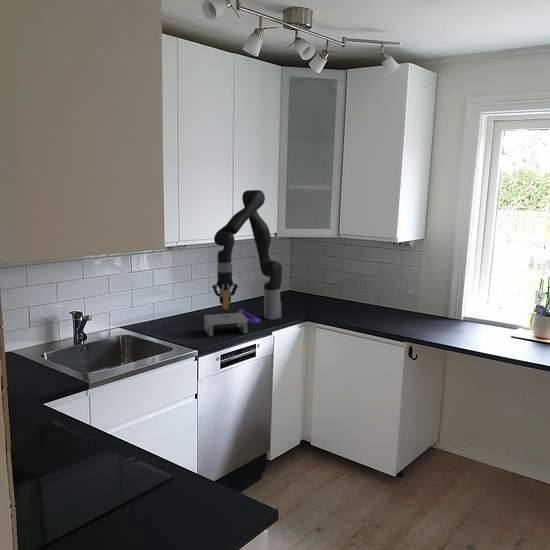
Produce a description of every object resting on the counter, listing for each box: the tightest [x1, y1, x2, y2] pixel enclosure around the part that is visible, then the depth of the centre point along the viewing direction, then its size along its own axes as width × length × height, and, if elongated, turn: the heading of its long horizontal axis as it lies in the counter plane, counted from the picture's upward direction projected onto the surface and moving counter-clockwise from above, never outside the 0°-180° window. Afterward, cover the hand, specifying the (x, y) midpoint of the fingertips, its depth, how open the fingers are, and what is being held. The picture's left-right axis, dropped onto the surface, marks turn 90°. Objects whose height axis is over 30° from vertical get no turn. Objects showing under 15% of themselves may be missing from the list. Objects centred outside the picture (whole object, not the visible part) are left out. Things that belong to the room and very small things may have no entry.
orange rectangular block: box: [221, 290, 230, 310], centre depth 287 cm, size 3×4×10 cm, turn 17°
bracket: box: [236, 308, 262, 325], centre depth 309 cm, size 12×7×7 cm, turn 75°
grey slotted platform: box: [203, 312, 249, 337], centre depth 289 cm, size 20×14×8 cm
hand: (225, 303), depth 288 cm, fingers closed on orange rectangular block, 3 cm apart
